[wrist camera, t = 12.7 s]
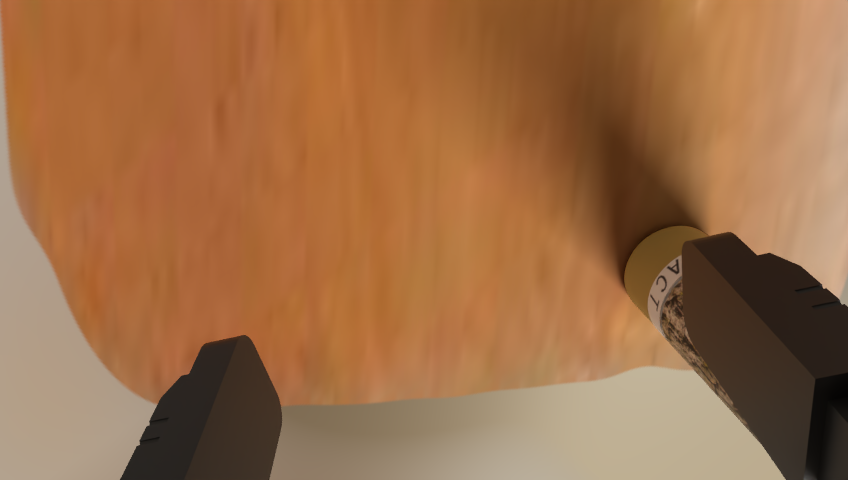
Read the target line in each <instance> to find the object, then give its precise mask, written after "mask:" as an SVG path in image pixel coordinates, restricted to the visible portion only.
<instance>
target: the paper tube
mask: <svg viewBox="0 0 848 480" xmlns="http://www.w3.org/2000/svg"><path fill="white" fill-rule="evenodd" d="M703 237H708V235H707V234H705V233H704V232H702V231H700V230H698V229H696V228H693V227H689V226H672V227H668V228H664V229H661V230H659V231H657V232H655V233H653V234H651V235H649V236H648V237H646V238H645V239H644V240H643V241H642V242H641V243H639V245H638V246H637V247H636V248H635V249H634V251H633V252H632V254H631V256H630V258H629V260H628V262H627V265H626V269H625V274H624V283H625V288H626V291H627V293H628V295H629V297H630V299H631V300H632V301H633V303H634V304H635V305H636V306H637V307H638V308H639V309H640V310H641V311H642V313H643V314H644V315H645V316H646V317H647V318H648V319H649V320H650V321H651V322H652V324H653V325H654V326H655V327H656V328H657V330H658V331H659V332H660V333H661V334H662V335H663V336H664V337H665V338H666V340H667V341H668V342H669V343H670V344H671V345H672V346H673V347H674V348H675V349H676V351H677V352H678V353H679V354H680V355H681V356H682V357H683V358H684V359H685V360H686V362H687V363H688V364H689V365H690V366H691V367H692V368H693V369H694V370H695V371H696V373H697V374H698V375H699V376H700V377H701V378H702V379H703V380H704V381H705V382H706V384H707V385H708V386H709V387H710V388H711V389H712V390H713V391H714V392H715V394H716V395H717V396H718V397H719V398H720V399H721V400H722V401H723V402H724V403H725V405H726V406H727V407H728V408H729V409H730V410H731V411H732V412H733V413H734V415H735V416H736V417H737V418H738V419H739V420H740V421H741V422H742V423H743V424H744V426H745V427H746V428H747V429H748V430H749V431H750V432H751V433H752V434H753V436H754V437H755V438H756V439H757V440H758V438H757V437H756V435H755V434H754V433H753V431H752V430H751V428H750V427H749V425H748V424H747V422H746V421H745V419H744V418H743V417H742V415H741V414H740V412H739V411H738V409H737V408H736V406H735V405H734V404H733V402H732V401H731V399H730V398H729V396H728V395H727V393H726V392H725V391H724V389H723V388H722V386H721V385H720V383H719V382H718V380H717V379H716V377H715V376H714V375H713V373H712V372H711V370H710V369H709V367H708V366H707V364H706V363H705V362H704V360H703V359H702V357H701V356H700V354H699V353H698V351H697V350H696V349H695V347H694V345H693V344H692V342H691V340H690V337H689V335H688V332H687V329H686V326H685V322H684V316H683V293H682V246H683V244H684V242H685V241H689V240H694V239H698V238H703ZM758 441H759V440H758ZM759 442H760V441H759Z"/></svg>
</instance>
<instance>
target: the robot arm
mask: <svg viewBox="0 0 848 480" xmlns="http://www.w3.org/2000/svg"><path fill="white" fill-rule="evenodd" d="M682 293H683V316H684V322H685V326H686V329H687V332H688V335H689V337H690V340H691V342H692V344H693V345H694V347H695V349H696V350H697V351H698V353H699V354H700V356H701V357H702V359H703V360H704V362H705V363H706V364H707V366H708V367H709V369H710V370H711V372H712V373H713V375H714V376H715V377H716V379H717V380H718V382H719V383H720V385H721V386H722V388H723V389H724V391H725V392H726V393H727V395H728V396H729V398H730V399H731V401H732V402H733V404H734V405H735V406H736V408H737V409H738V411H739V412H740V414H741V415H742V417H743V418H744V419H745V421H746V422H747V424H748V425H749V427H750V428H751V430H752V431H753V433H754V434H755V435H756V437H757V438H758V440H759V441H760V443H761V444H762V446H763V447H764V448H765V450H766V451H767V453H768V454H769V456H770V457H771V459H772V460H773V461H774V463H775V464H776V466H777V467H778V469H779V470H780V471H781V473H782V474H783V476H784V477H785V479H786V480H848V307H847V306H846V305H845V304H843V305H842V304H841V303H840V300H839V299H838V298H837V297H836V296H835V295H833V294H832V293H831V292H830V291H829V290H828V289H827V288H825V289H823V287H822V284H821V283H820V282H818V281H817V280H816V279H815V278H814V277H813V276H811V275H810V274H809V273H808V272H807V271H806V270H805V269H803V268H802V267H801V266H799V265H797V264H795V263H792V262H790V261H788V260H785V259H783V258H781V257H778V256H776V255H774V254H771V253H767V254H762V255H756V254H755V253H754V252H753V251H752V250H751V249H750V248H749V247H748V246H747V245H745V244H744V243H743V242H742V241H741V240H740V239H739V238H738V237H737V236H736V235H735V234H733V233H731V232H726V233H722V234H717V235H712V236H708V237H703V238H698V239H694V240H689V241H685V242H684V244H683V246H682ZM149 422H150V426H147V427H146V429H145V431H144V433H143V435H142V437H141V439H140V445H139V446H137V447H136V449H135V451H134V453H133V455H132V457H131V459H130V461H129V463H128V465H127V467H126V469H125V471H124V473H123V475H122V477H121V479H120V480H269V478H270V474H271V470H272V466H273V461H274V457H275V453H276V448H277V444H278V439H279V436H280V431H281V426H282V412H281V405H280V401H279V397H278V395H277V392H276V390H275V388H274V386H273V384H272V382H271V380H270V378H269V375H268V373H267V371H266V369H265V367H264V365H263V363H262V361H261V358H260V356H259V354H258V352H257V350H256V348H255V346H254V344H253V342H252V341H251V339H250V338H249V337H248V336H246V335H242V336H237V337H233V338H228V339H223V340H219V341H214V342H209V343H206V344H204V345H203V346H202V348H201V350H200V352H199V354H198V356H197V358H196V360H195V362H194V365H193V367H192V369H191V371H190V373H189V374H188V375H183V376H181V377H180V378H179V379H178V380H177V381H176V382H175V383H174V384H173V386H172V387H171V388H170V389H169V390H168V391H167V392H166V393H165V394H164V395H163V396H162V397H161V399H160V401H159V403H158V405H157V407H156V409H155V411H154V413H153V415H152V417H151V419H150V421H149Z"/></svg>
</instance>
